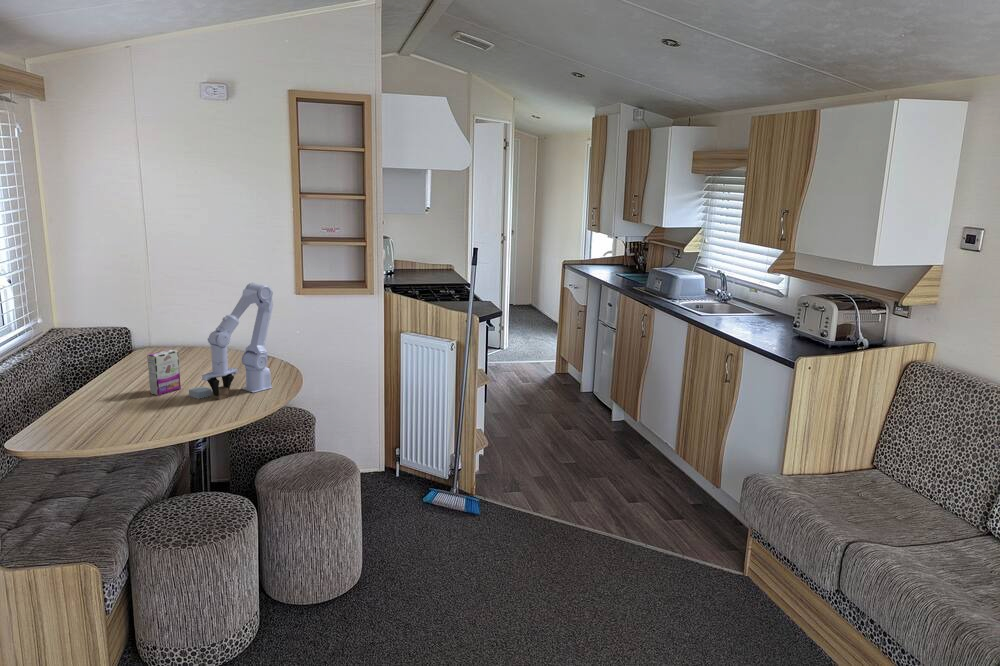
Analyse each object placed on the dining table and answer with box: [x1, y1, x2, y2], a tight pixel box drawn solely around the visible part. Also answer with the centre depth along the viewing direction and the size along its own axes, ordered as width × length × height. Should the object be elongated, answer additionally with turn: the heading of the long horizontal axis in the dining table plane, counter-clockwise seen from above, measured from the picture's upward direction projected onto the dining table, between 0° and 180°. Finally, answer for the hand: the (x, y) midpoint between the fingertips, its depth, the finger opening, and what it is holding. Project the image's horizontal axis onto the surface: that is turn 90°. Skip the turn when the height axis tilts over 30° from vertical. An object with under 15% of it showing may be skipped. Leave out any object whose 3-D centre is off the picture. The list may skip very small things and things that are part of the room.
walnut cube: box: [213, 385, 230, 401], centre depth 282 cm, size 4×4×4 cm
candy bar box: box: [146, 348, 182, 396], centre depth 285 cm, size 11×5×16 cm, turn 155°
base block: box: [188, 386, 213, 400], centre depth 283 cm, size 6×6×3 cm
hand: (221, 394), depth 282 cm, fingers closed on walnut cube, 4 cm apart
